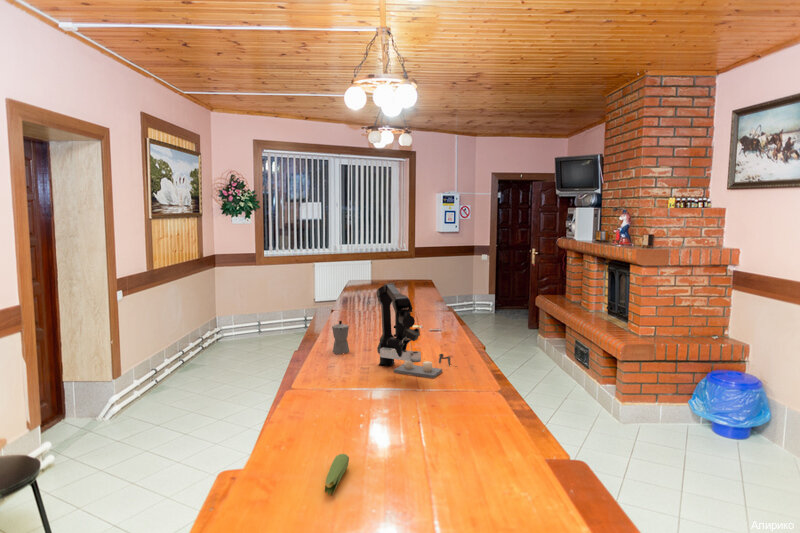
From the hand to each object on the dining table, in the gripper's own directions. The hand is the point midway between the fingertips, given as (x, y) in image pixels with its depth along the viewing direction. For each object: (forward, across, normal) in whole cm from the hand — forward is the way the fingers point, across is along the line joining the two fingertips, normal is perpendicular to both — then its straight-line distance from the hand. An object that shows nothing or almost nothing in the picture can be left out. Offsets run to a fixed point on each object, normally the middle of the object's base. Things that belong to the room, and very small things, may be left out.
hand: (401, 355), depth 242 cm
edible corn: (+11, -92, -23) cm, 95 cm away
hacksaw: (+12, +35, -10) cm, 38 cm away
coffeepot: (+11, +28, +52) cm, 60 cm away
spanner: (+1, 0, +1) cm, 2 cm away
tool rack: (+11, +12, -3) cm, 16 cm away
